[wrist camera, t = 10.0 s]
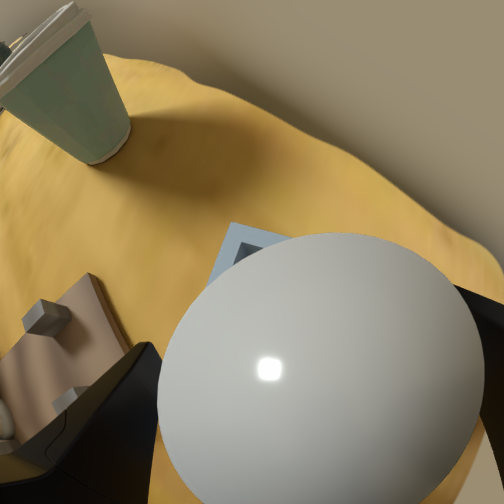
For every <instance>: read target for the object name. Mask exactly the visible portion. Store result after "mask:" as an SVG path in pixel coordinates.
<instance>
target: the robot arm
mask: <svg viewBox="0 0 504 504" xmlns="http://www.w3.org/2000/svg"><path fill="white" fill-rule="evenodd" d="M453 285H454V284H453ZM454 287H455V288H456V289H457V290H458V292H459V293H460V295H461V296H462V298H463V299H464V301H465V303H466V304H467V306H468V308H469V310H470V312H471V314H472V316H473V319H474V321H475V323H476V326H477V329H478V333H479V336H480V340H481V344H482V350H483V357H484V390H483V398H482V404H481V408H480V412H479V414H480V417H481V419H482V422H483V425H484V427H485V430H486V433H487V435H488V438H489V441H490V444H491V447H492V450H493V453H494V457H495V460H496V463H497V466H498V470H499V473H500V477H501V481H502V485H503V489H504V305H503V304H501V303H498V302H496V301H493V300H491V299H489V298H486V297H484V296H481V295H479V294H476V293H474V292H471V291H469V290H466V289H464V288H461V287H459V286H456V285H454ZM161 366H162V359H161V357H160V356H159V354H158V352H157V350H156V349H155V347H154V345H153V344H152V343H151V342H149V341H148V342H139V343H137V344H136V345H135V346H134V347H133V348H132V349H131V350H130V351H128V352H127V353H126V354H125V355H124V356H123V357H122V358H121V359H120V360H119V361H117V362H116V363H115V364H114V365H113V366H112V367H111V368H110V369H109V370H107V371H106V372H105V373H104V374H103V375H102V376H101V377H100V378H99V379H98V380H96V381H95V382H94V383H93V384H92V385H91V386H90V387H89V388H88V389H87V390H85V391H84V392H83V393H82V394H81V395H80V396H79V397H78V398H77V399H76V400H75V401H73V402H72V403H71V404H70V405H69V406H68V407H67V409H65V410H64V411H62V412H61V413H60V414H59V415H58V416H57V417H56V418H55V419H54V420H52V421H51V422H50V423H49V424H48V425H47V426H45V427H44V428H43V429H42V430H40V431H39V432H38V433H37V434H35V435H34V436H33V437H31V438H30V439H29V440H28V441H26V442H25V443H24V444H22V445H21V446H20V447H18V448H17V449H16V450H14V451H13V452H10V453H8V454H4V455H0V504H148V494H149V485H150V476H151V467H152V459H153V452H154V445H155V438H156V431H157V424H158V408H157V398H158V382H159V377H160V371H161Z"/></svg>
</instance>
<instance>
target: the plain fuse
mask: <svg viewBox="0 0 504 504" xmlns="http://www.w3.org/2000/svg"><path fill="white" fill-rule="evenodd" d="M14 435H15V426H14V421H13V418H12V415H11V412H10V410H9V408H8V406H7V404H6V403H5V402H4V400H3V399H1V398H0V441H4V440H11V439H13V438H14Z"/></svg>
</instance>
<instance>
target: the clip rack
mask: <svg viewBox="0 0 504 504" xmlns="http://www.w3.org/2000/svg"><path fill="white" fill-rule="evenodd" d="M22 321H23V325H24V329H25V332H26V333H25V334H24V335H23V336H22V337H21V338H20V340H19V341H18V342H17V343H16V344H15V345H14V346H13V347H12V348H11V350H10V351H9V352H8V353H7V354H6V355H5V356H4V358H3V359H2V360H1V361H0V398H1V399H3V400H4V402H5V403H6V404H7V406H8V408H9V410H10V412H11V415H12V418H13V421H14V426H15V435H14V438H13V439H11V440H4V441H0V455H4V454H8V453H10V452H13V451H14V450H16V449H17V448H18V447H20V446H21V445H22V444H24V443H25V442H26V441H28V440H29V439H30V438H31V437H33V436H34V435H35V434H37V433H38V432H39V431H40V430H42V429H43V428H44V427H45V426H47V425H48V424H49V423H50V422H51V421H52V420H54V419H55V418H56V417H57V416H58V415H59V414H60V413H61V412H62V411H64V410H65V409H67V407H68V406H69V405H70V404H71V403H72V402H73V401H75V400H76V399H77V398H78V397H79V396H80V395H81V394H82V393H83V392H84V391H85V390H87V389H88V388H89V387H90V386H91V385H92V384H93V383H94V382H95V381H96V380H98V379H99V378H100V377H101V376H102V375H103V374H104V373H105V372H106V371H107V370H109V369H110V368H111V367H112V366H113V365H114V364H115V363H116V362H117V361H119V360H120V359H121V358H122V357H123V356H124V355H125V354H126V353H127V352H128V351H130V349H129V347H128V345H127V344H126V342H125V340H124V338H123V336H122V334H121V332H120V330H119V328H118V326H117V324H116V322H115V320H114V317H113V315H112V313H111V311H110V309H109V307H108V304H107V302H106V300H105V298H104V295H103V293H102V291H101V288H100V286H99V284H98V281H97V279H96V276H95V275H92V274H90V273H88V272H87V273H86V274H85V275H84V276H83V277H82V278H81V279H80V280H79V281H78V282H76V283H75V284H74V285H73V286H72V287H71V288H70V289H69V290H68V291H67V292H66V293H65V294H64V295H63V296H62V297H61V298H60V299H58V300H57V301H56V302H55V303H53V302H49V301H46V300H43V299H40V300H39V301H38V302H37V303H36V304H35V305H34V306H33V307H32V308H31V309H30V310H29V311H28V312H27V314H26V315H25V316H24V317H23V318H22Z"/></svg>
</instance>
